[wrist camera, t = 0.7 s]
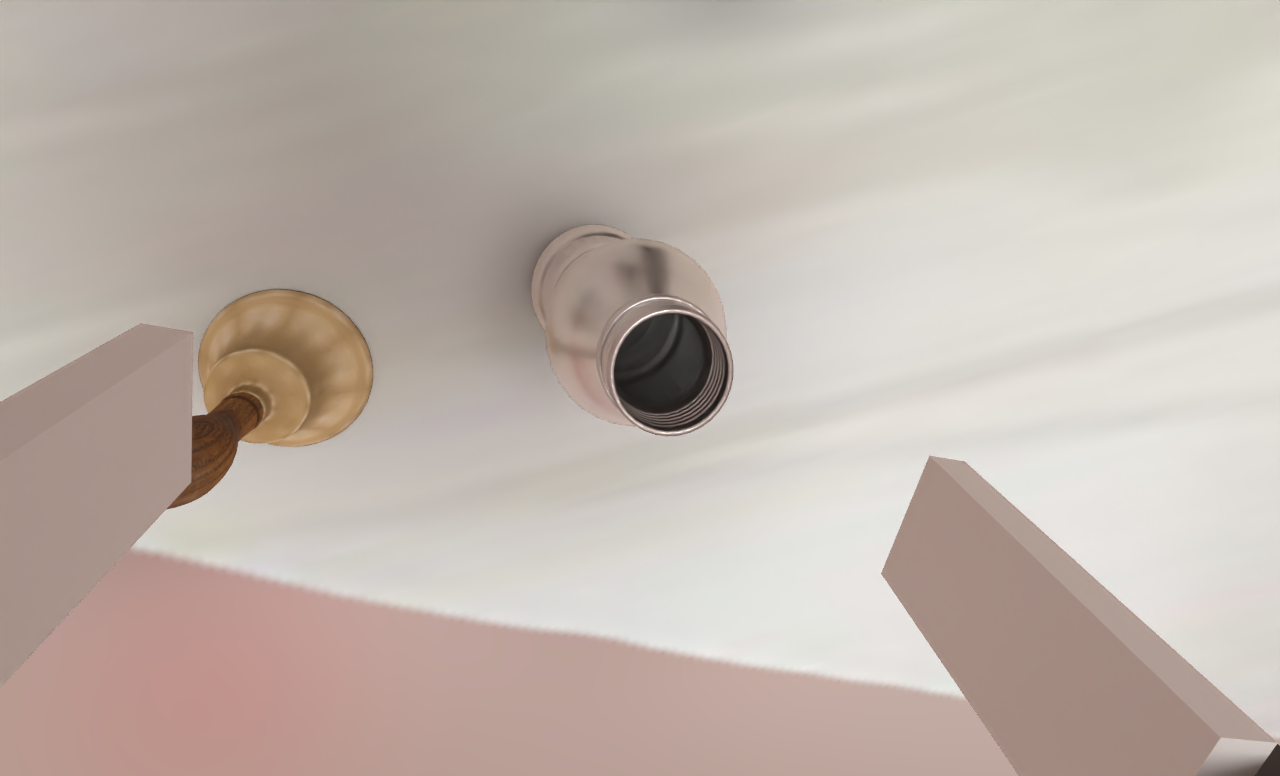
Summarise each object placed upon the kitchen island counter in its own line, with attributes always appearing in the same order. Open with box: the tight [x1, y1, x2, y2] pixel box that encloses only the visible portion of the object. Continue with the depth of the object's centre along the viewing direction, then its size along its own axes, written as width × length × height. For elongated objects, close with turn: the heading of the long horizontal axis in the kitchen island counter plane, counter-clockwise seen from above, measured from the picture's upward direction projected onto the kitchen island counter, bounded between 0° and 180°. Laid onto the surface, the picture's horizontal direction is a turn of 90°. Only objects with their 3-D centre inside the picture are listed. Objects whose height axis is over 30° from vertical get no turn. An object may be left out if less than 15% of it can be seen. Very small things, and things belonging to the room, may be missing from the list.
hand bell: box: [167, 290, 373, 509], centre depth 30 cm, size 8×8×16 cm
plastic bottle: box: [531, 225, 733, 436], centre depth 30 cm, size 6×7×20 cm
